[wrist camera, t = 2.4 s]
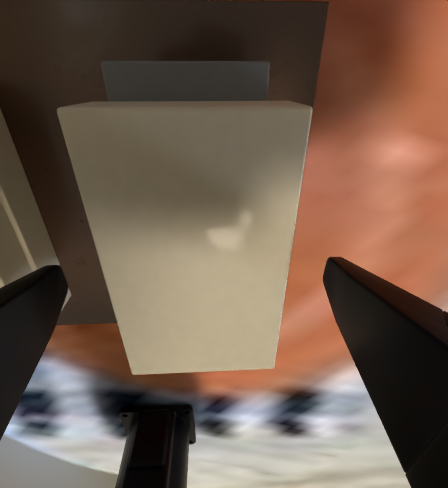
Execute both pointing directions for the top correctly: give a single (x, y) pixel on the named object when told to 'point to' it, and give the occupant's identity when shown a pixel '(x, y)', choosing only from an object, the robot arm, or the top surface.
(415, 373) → the robot arm
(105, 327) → the top surface
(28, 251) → the cream books
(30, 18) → the walnut board
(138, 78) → the grey rectangular block
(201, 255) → the cream book
